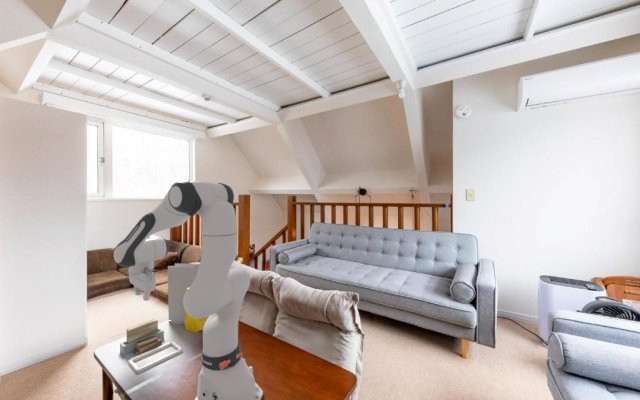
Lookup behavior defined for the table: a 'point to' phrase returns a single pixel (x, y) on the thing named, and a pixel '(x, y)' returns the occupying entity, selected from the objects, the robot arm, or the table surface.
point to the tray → (137, 370)
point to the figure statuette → (193, 323)
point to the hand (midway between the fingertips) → (142, 297)
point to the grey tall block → (179, 289)
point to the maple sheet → (142, 330)
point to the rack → (128, 348)
